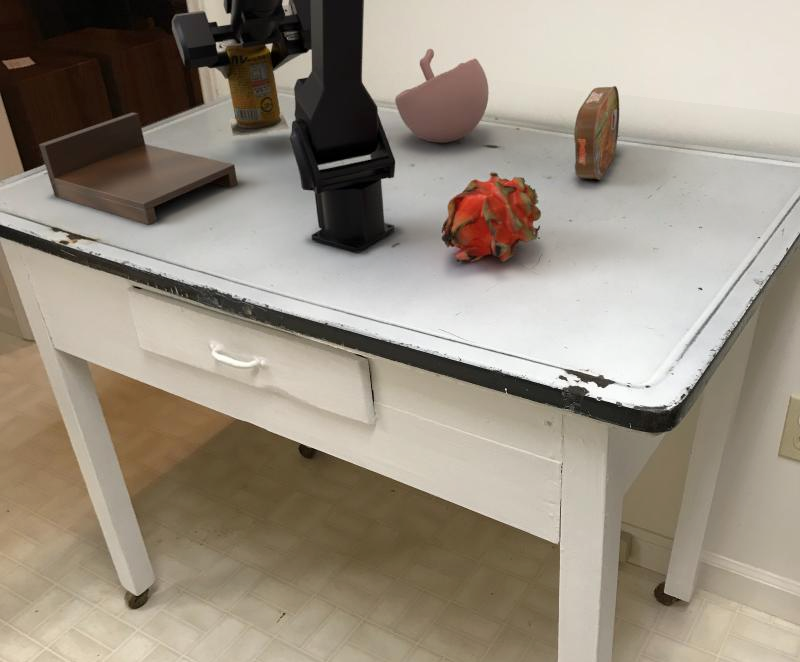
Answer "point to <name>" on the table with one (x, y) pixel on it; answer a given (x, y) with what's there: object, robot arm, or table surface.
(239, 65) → the condiment
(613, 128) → the tin
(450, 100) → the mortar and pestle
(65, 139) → the shelf
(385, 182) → the table surface
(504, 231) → the dragon fruit
